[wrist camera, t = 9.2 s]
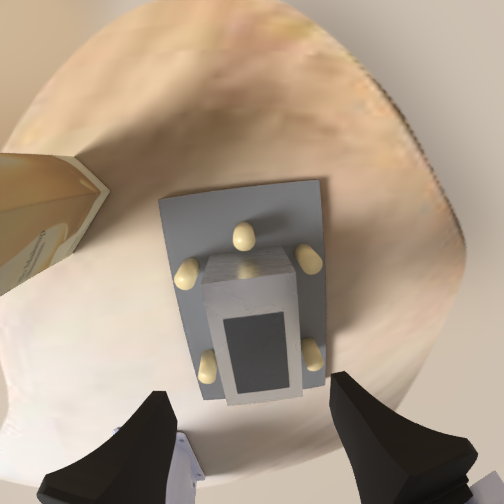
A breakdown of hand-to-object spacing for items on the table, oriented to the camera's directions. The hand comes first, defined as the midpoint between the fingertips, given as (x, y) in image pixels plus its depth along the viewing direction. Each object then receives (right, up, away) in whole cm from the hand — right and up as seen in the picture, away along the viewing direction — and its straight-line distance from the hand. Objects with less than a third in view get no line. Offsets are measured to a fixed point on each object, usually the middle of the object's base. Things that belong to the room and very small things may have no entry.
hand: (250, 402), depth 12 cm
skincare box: (-13, +10, +7) cm, 18 cm away
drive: (0, +3, +8) cm, 9 cm away
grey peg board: (0, +3, +9) cm, 9 cm away
